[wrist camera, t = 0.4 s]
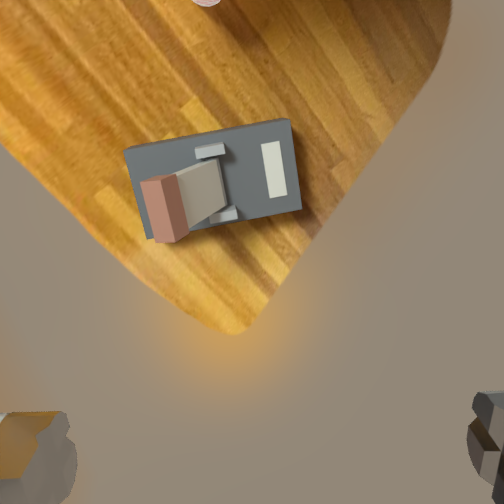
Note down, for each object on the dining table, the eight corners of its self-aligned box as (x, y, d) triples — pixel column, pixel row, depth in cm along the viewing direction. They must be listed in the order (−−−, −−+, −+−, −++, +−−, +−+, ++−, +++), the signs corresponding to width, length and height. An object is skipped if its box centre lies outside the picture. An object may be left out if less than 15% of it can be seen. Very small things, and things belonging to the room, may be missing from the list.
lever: (205, 156, 47) (139, 182, 38) (223, 154, 46) (160, 180, 37) (216, 206, 49) (155, 242, 40) (233, 205, 48) (175, 242, 39)
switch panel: (130, 146, 51) (118, 153, 44) (282, 117, 52) (294, 120, 44) (152, 227, 54) (143, 246, 47) (294, 200, 55) (307, 214, 48)
